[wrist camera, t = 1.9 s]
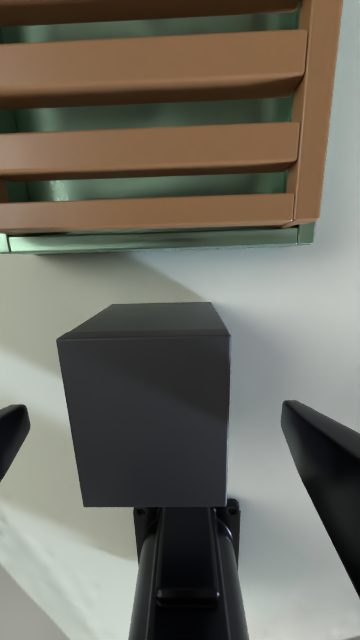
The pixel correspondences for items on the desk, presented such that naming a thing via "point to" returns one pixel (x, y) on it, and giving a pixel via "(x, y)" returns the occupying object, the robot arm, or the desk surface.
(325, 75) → the wooden peg rack
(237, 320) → the desk surface
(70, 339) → the black box
